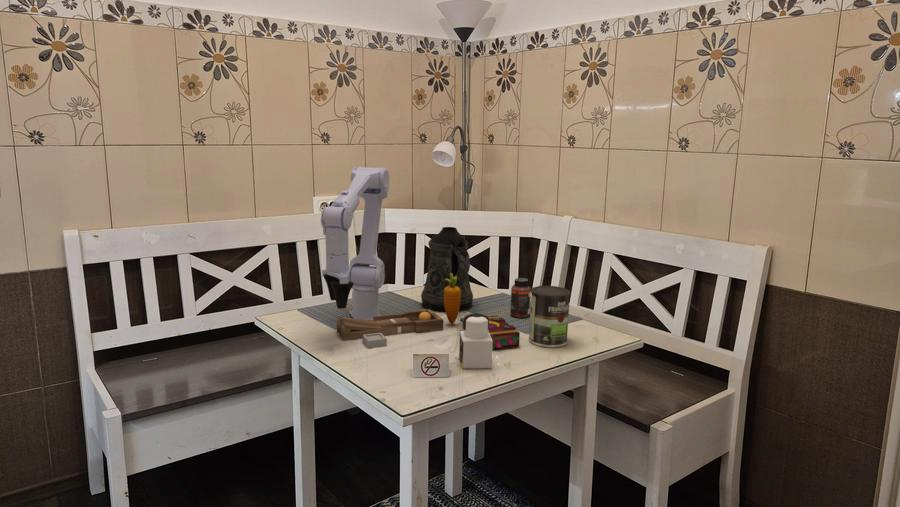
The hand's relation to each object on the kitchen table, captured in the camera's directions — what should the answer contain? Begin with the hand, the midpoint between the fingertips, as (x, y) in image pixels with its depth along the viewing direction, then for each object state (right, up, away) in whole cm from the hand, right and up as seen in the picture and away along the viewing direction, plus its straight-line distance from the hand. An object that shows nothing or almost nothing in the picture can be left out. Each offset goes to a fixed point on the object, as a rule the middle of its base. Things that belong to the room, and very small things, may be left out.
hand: (338, 303), depth 159 cm
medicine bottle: (+35, -14, -12) cm, 39 cm away
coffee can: (+55, -11, +5) cm, 57 cm away
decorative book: (+40, -11, +4) cm, 41 cm away
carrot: (+30, -8, +16) cm, 35 cm away
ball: (+22, -5, +15) cm, 27 cm away
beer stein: (+29, -4, +34) cm, 45 cm away
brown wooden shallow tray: (+12, -8, +11) cm, 18 cm away
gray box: (+10, -10, 0) cm, 14 cm away
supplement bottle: (+50, -6, +26) cm, 57 cm away
